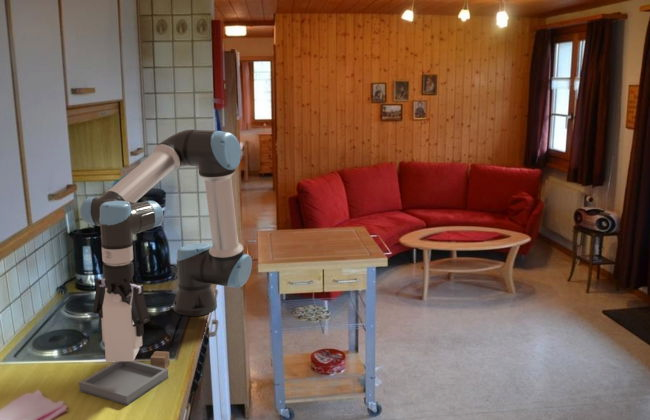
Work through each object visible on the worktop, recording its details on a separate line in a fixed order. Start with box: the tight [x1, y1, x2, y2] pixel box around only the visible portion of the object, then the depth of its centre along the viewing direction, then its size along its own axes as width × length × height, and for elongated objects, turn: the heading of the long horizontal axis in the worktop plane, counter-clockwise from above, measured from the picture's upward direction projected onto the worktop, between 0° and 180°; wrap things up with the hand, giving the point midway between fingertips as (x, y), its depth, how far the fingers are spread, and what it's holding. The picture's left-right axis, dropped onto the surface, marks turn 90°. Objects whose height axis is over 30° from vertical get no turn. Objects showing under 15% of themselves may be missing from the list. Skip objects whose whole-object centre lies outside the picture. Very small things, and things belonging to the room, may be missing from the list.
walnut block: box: [150, 350, 170, 369], centre depth 172 cm, size 4×4×4 cm
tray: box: [78, 360, 169, 406], centre depth 162 cm, size 16×16×2 cm
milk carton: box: [102, 288, 140, 363], centre depth 158 cm, size 7×7×19 cm
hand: (122, 343), depth 160 cm, fingers closed on milk carton, 10 cm apart
